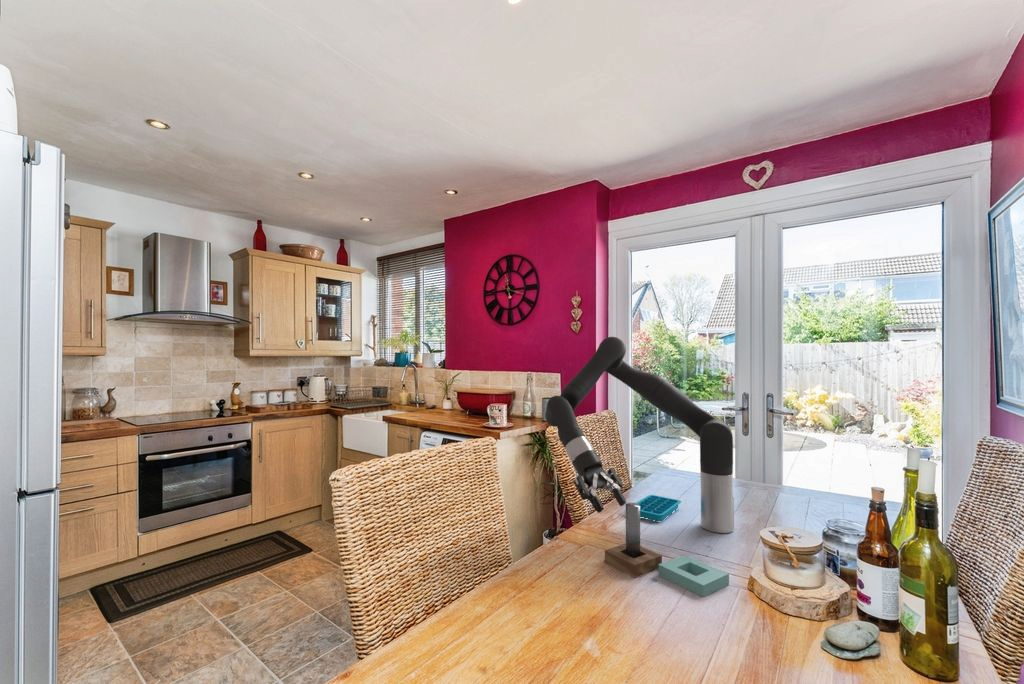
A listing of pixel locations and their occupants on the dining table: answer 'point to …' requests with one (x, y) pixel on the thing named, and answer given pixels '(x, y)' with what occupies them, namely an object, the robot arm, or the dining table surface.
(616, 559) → the socket block
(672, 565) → the teal square hole base
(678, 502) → the ice cube tray
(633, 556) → the rod
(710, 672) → the dining table surface
